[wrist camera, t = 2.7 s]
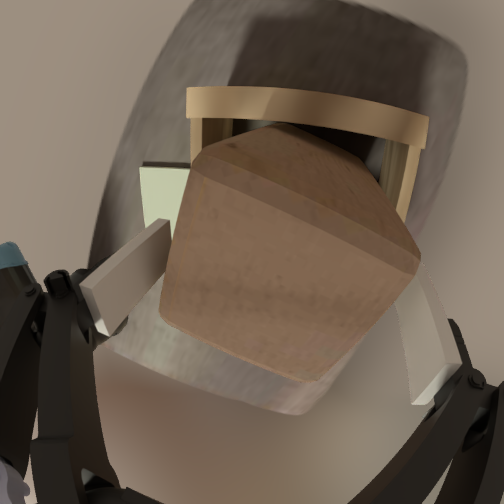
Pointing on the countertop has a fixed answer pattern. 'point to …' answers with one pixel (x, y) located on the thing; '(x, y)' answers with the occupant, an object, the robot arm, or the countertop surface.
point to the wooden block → (284, 252)
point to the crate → (319, 114)
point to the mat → (162, 193)
